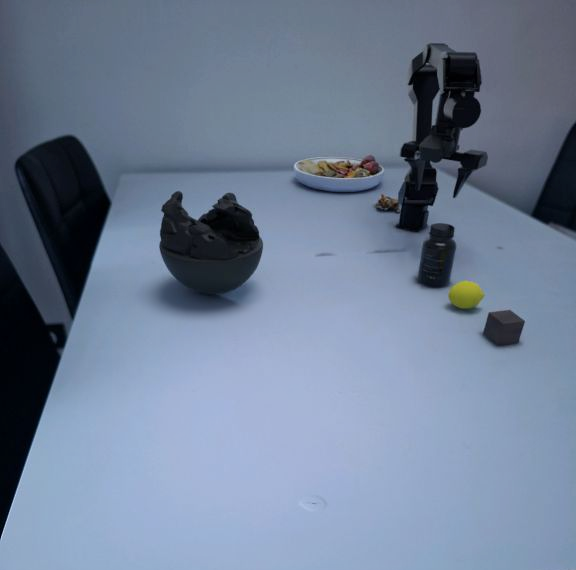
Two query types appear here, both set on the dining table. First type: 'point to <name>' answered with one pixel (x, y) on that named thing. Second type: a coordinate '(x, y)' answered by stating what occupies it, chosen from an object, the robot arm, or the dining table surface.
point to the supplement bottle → (437, 256)
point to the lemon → (465, 294)
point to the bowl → (339, 173)
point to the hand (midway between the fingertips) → (435, 193)
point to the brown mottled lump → (388, 203)
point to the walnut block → (503, 327)
